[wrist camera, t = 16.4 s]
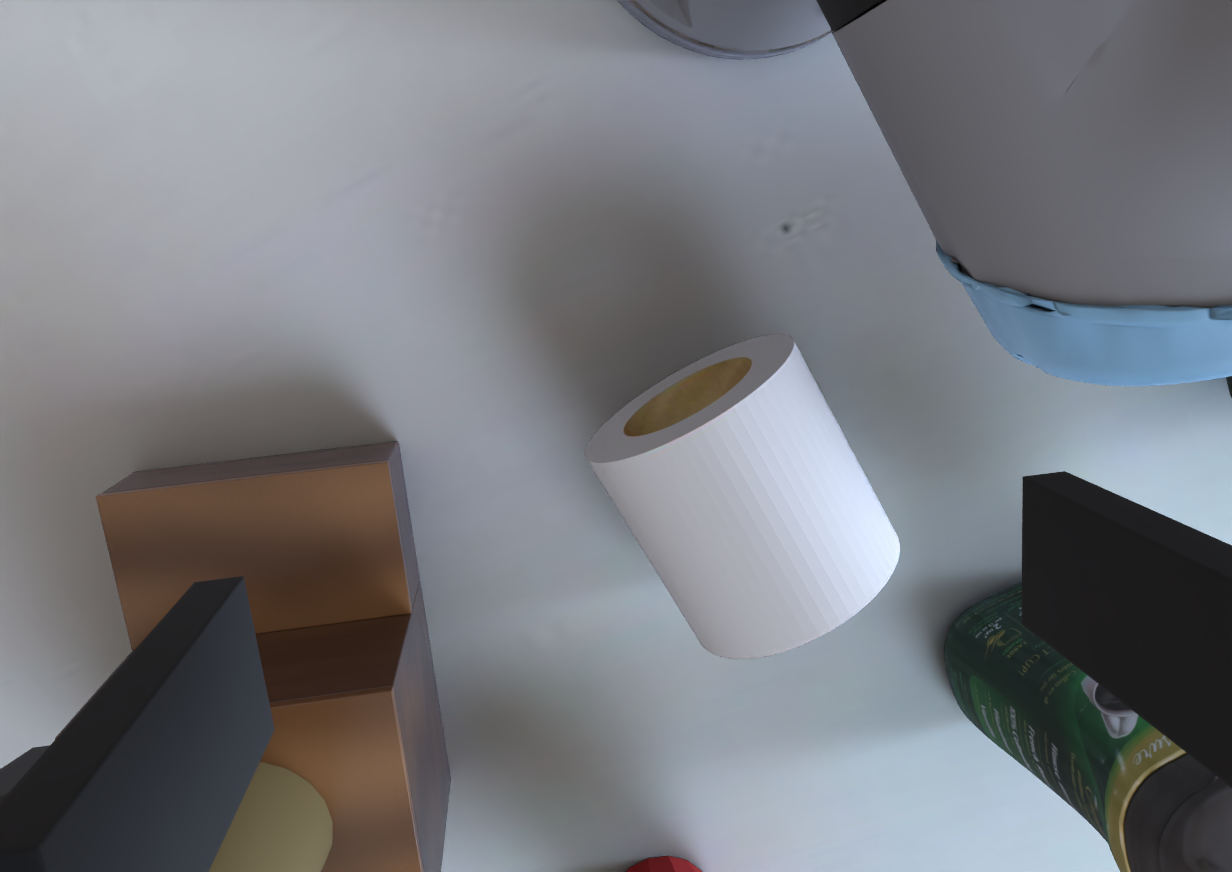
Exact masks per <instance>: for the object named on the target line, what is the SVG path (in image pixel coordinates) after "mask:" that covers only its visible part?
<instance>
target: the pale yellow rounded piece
mask: <svg viewBox="0 0 1232 872" xmlns="http://www.w3.org/2000/svg"><path fill="white" fill-rule="evenodd" d="M332 837H333V821H332V819H331V816H330V813H329V810H328V808H327V805H326V802H325V800H324V799H323V798H322V797H321V796H320V794H319V793H318V792H317V791H316V789H315V788H314V787H313V786H312V785H311V783H309V782H308V781H306V780H305V779H303V778H302V777H300V776H298V775H297V774H295V773H294V772H292V771H291V770H289V769H286V768H282V767H279V766H275V765H272V764H268V763H265V762H259V765H258V767H257V769H256V771H255V773H254V775H253V777H252V780H251V782H250V784H249V786H248V788H247V790H246V792H245V795H244V797H243V799H242V801H241V803H240V805H239V807H238V810H237V812H236V814H235V816H234V818H233V820H232V822H231V825H230V827H229V829H228V831H227V833H226V835H225V838H224V840H223V842H222V844H221V846H220V848H219V850H218V853H217V855H216V857H215V859H214V861H213V863H212V865H211V868H210V870H209V872H321V870H322V868H323V866H324V864H325V861H326V859H327V856H328V854H329V851H330V849H331V846H332Z"/></svg>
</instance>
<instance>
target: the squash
mask: <svg viewBox="0 0 1232 872" xmlns="http://www.w3.org/2000/svg"><path fill="white" fill-rule="evenodd" d="M1226 379H1227V383H1228V387H1229V392H1230V396H1231V397H1232V376H1229V377H1226Z"/></svg>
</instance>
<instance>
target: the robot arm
mask: <svg viewBox="0 0 1232 872" xmlns="http://www.w3.org/2000/svg"><path fill="white" fill-rule="evenodd" d="M618 1H619V2H620V3H621V4H622V5H623V6H624V7H625V8H626V9H627V10H628V11H629V12H630V13H631V14H632V15H633V16H634V17H635V18H636V19H638V20H639V21H640V22H641V23H642V24H644V25H645V26H646V27H648V28H649V29H651V30H652V31H654V32H655V33H656V34H658V35H659V36H661V37H663V38H665V39H667V40H669V41H670V42H672V43H674V44H676V45H679V46H681V47H684V48H686V49H688V50H691V51H694V52H698V53H701V54H705V55H709V56H714V57H719V58H728V59H759V58H766V57H773V56H777V55H781V54H785V53H789V52H792V51H794V50H797V49H800V48H803V47H805V46H807V45H809V44H811V43H813V42H815V41H817V40H819V39H821V38H823V37H824V36H826V35H828V34H829V33H831V32H832V34H833V36H834V38H835V40H836V42H837V44H838V46H839V48H840V50H841V52H842V54H843V56H844V58H845V60H846V62H847V64H848V66H849V68H850V70H851V72H852V74H853V75H854V77H855V79H856V81H857V83H858V85H859V87H860V89H861V91H862V93H863V95H864V97H865V99H866V101H867V103H868V105H869V107H870V109H871V111H872V113H873V115H874V117H875V119H876V121H877V123H878V125H879V127H880V129H881V131H882V133H883V135H884V137H885V139H886V141H887V143H888V145H889V147H890V149H891V151H892V153H893V155H894V157H895V159H896V161H897V163H898V165H899V167H900V169H901V171H902V173H903V175H904V177H905V179H906V181H907V183H908V185H909V187H910V189H911V191H912V193H913V194H914V196H915V198H916V200H917V202H918V204H919V206H920V208H921V210H922V212H923V214H924V216H925V218H926V220H927V222H928V224H929V226H930V228H931V230H932V232H933V234H934V236H935V238H936V251H937V254H938V256H939V258H940V260H941V261H942V263H943V265H944V267H945V268H946V269H947V270H948V271H949V272H950V273H951V275H952V276H953V277H955V278H956V279H957V280H959V281H960V282H961V283H962V284H963V286H964V287H965V289H966V291H967V293H968V294H969V296H970V298H971V300H972V301H973V303H974V305H975V306H976V308H977V310H978V312H979V313H980V315H981V317H982V318H983V320H984V322H985V324H986V325H987V327H988V329H989V330H990V332H991V333H992V335H993V337H994V338H995V339H996V340H997V341H998V343H999V344H1000V345H1001V346H1002V347H1003V348H1004V349H1005V350H1006V351H1008V352H1009V353H1010V354H1011V355H1012V356H1014V357H1015V358H1017V359H1019V360H1021V361H1024V362H1026V363H1029V364H1032V365H1035V366H1036V367H1037V368H1040V369H1042V370H1043V371H1045V372H1046V373H1048V374H1051V375H1053V376H1056V377H1060V378H1064V379H1068V380H1073V381H1079V382H1084V383H1091V384H1099V385H1112V386H1154V385H1169V384H1180V383H1189V382H1198V381H1205V380H1212V379H1218V378H1224V377H1229V376H1232V0H618ZM834 30H835V31H834ZM833 31H834V32H833ZM1022 625H1024V626H1025V627H1026V628H1027V629H1029V630H1030V631H1031V632H1033V633H1034V634H1035V635H1036V636H1038V637H1039V638H1040V639H1042V640H1043V641H1044V642H1045V643H1047V644H1048V645H1049V646H1051V647H1052V648H1053V649H1054V650H1056V651H1057V652H1058V653H1059V654H1061V655H1062V656H1063V657H1065V658H1066V659H1067V660H1068V661H1070V662H1071V663H1072V664H1074V665H1075V666H1076V667H1077V668H1079V669H1080V670H1081V671H1083V672H1084V673H1085V674H1086V675H1088V676H1089V677H1090V678H1092V679H1093V680H1094V681H1095V682H1097V683H1098V684H1099V685H1100V686H1102V687H1103V688H1104V689H1106V690H1107V691H1108V692H1109V693H1111V694H1112V695H1113V696H1115V697H1116V698H1117V699H1118V700H1120V701H1121V702H1122V703H1124V704H1125V705H1126V706H1127V707H1129V708H1130V709H1131V710H1133V711H1134V712H1135V713H1136V714H1138V715H1139V716H1140V717H1141V718H1143V719H1144V720H1145V721H1147V722H1148V723H1149V724H1150V725H1152V726H1153V727H1154V728H1156V729H1157V730H1158V731H1159V732H1161V733H1162V734H1163V735H1165V736H1166V737H1167V738H1168V739H1170V740H1171V741H1172V742H1174V743H1175V744H1176V745H1177V746H1179V747H1180V748H1181V749H1182V750H1184V751H1185V752H1186V753H1188V754H1189V755H1190V756H1191V757H1193V758H1194V759H1195V760H1197V761H1198V762H1199V763H1200V764H1202V765H1203V766H1204V767H1206V768H1207V769H1208V770H1209V771H1211V772H1212V773H1213V774H1215V775H1216V776H1217V777H1218V778H1220V779H1221V780H1222V781H1223V782H1225V783H1226V784H1227V785H1229V786H1230V787H1231V788H1232V546H1231V545H1229V544H1227V543H1225V542H1222V541H1220V540H1218V539H1216V538H1213V537H1211V536H1209V535H1207V534H1204V533H1202V532H1200V531H1198V530H1195V529H1193V528H1191V527H1189V526H1186V525H1184V524H1182V523H1180V522H1177V521H1175V520H1173V519H1171V518H1168V517H1166V516H1164V515H1162V514H1159V513H1157V512H1155V511H1153V510H1150V509H1148V508H1146V507H1144V506H1141V505H1139V504H1137V503H1135V502H1132V501H1130V500H1128V499H1126V498H1123V497H1121V496H1119V495H1117V494H1114V493H1112V492H1110V491H1108V490H1105V489H1103V488H1101V487H1099V486H1097V485H1094V484H1092V483H1090V482H1088V481H1085V480H1083V479H1081V478H1079V477H1076V476H1074V475H1072V474H1070V473H1067V472H1065V471H1064V472H1056V473H1048V474H1040V475H1033V476H1025V477H1023V509H1022ZM274 730H275V729H274V724H273V719H272V714H271V709H270V704H269V699H268V694H267V689H266V684H265V679H264V674H263V669H262V664H261V659H260V654H259V649H258V644H257V639H256V634H255V630H254V625H253V620H252V615H251V610H250V605H249V600H248V595H247V590H246V585H245V580H244V576H240V577H232V578H224V579H216V580H208V581H201V582H194V583H193V585H192V586H191V587H190V588H189V589H188V590H187V591H186V593H185V594H184V595H183V596H182V597H181V598H180V599H179V600H178V602H177V603H176V604H175V605H174V606H173V607H172V608H171V609H170V611H169V612H168V613H167V614H166V615H165V616H164V617H163V619H162V620H161V621H160V622H159V623H158V624H157V625H156V626H155V628H154V629H153V630H152V631H151V632H150V633H149V634H148V636H147V637H146V638H145V639H144V640H143V641H142V642H141V643H140V645H139V646H138V647H137V648H136V649H135V650H134V651H133V652H132V654H131V655H130V656H129V657H128V658H127V659H126V660H125V662H124V663H123V664H122V665H121V666H120V667H119V668H118V669H117V671H116V672H115V673H114V674H113V675H112V676H111V677H110V679H109V680H108V681H107V682H106V683H105V684H104V685H103V686H102V688H101V689H100V690H99V691H98V692H97V693H96V694H95V696H94V697H93V698H92V699H91V700H90V701H89V702H88V703H87V705H86V706H85V707H84V708H83V709H82V710H81V711H80V712H79V714H78V715H77V716H76V717H75V718H74V719H73V720H72V722H71V723H70V724H69V725H68V726H67V727H66V728H65V729H64V731H63V732H62V733H61V734H60V735H59V736H58V737H57V739H56V740H55V741H54V742H53V743H52V744H51V745H50V746H42V747H35V748H32V749H30V750H29V751H27V752H26V753H24V754H23V755H21V756H20V757H18V758H17V759H15V760H14V761H12V762H11V763H9V764H8V765H6V766H5V767H3V768H2V769H0V872H209V870H210V868H211V865H212V863H213V861H214V859H215V857H216V855H217V853H218V850H219V848H220V846H221V844H222V842H223V840H224V838H225V835H226V833H227V831H228V829H229V827H230V825H231V822H232V820H233V818H234V816H235V814H236V812H237V810H238V807H239V805H240V803H241V801H242V799H243V797H244V795H245V792H246V790H247V788H248V786H249V784H250V782H251V780H252V777H253V775H254V773H255V771H256V769H257V767H258V765H259V762H260V760H261V758H262V756H263V754H264V752H265V750H266V747H267V745H268V743H269V741H270V739H271V737H272V735H273V732H274Z"/></svg>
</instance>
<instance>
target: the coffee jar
mask: <svg viewBox="0 0 1232 872" xmlns="http://www.w3.org/2000/svg"><path fill="white" fill-rule="evenodd" d="M944 659H945V665H946V671H947V674H948V678H949V682H950V685H951V688H952V691H953V694H954V696H955V698H956V701H957V703H958V705H959V706H960V708H961V710H962V711H963V713H964V714H965V715H966V716H967V718H968V719H969V720H970V721H971V722H972V723H973V724H974V725H975V726H976V727H977V728H978V729H979V730H981V731H982V732H983V733H984V734H985V735H986V736H987V737H988V738H989V739H991V740H992V741H993V742H994V743H995V744H997V745H998V746H999V747H1000V748H1001V749H1003V750H1004V751H1005V752H1007V753H1008V754H1009V755H1010V756H1012V757H1013V758H1014V759H1015V760H1017V761H1018V762H1019V763H1020V764H1022V765H1023V766H1024V767H1025V768H1027V769H1028V770H1029V771H1030V772H1031V773H1033V774H1034V775H1035V776H1036V777H1037V778H1039V779H1040V780H1041V781H1042V782H1043V783H1045V784H1046V785H1047V786H1048V787H1049V788H1051V789H1052V790H1053V791H1054V792H1055V793H1056V794H1058V795H1059V796H1060V797H1061V798H1062V799H1063V800H1064V801H1066V802H1067V803H1068V804H1069V805H1070V806H1071V807H1073V808H1074V809H1075V810H1076V811H1077V812H1078V813H1079V814H1080V815H1082V816H1083V817H1084V818H1085V819H1086V820H1087V821H1088V822H1089V823H1090V824H1091V825H1092V826H1093V827H1094V828H1095V829H1096V830H1097V831H1098V832H1099V833H1100V834H1101V836H1102V837H1103V838H1104V839H1105V840H1106V841H1107V842H1108V844H1109V847H1110V850H1111V852H1112V854H1113V857H1114V859H1115V861H1116V863H1117V865H1118V867H1119V869H1120V872H1232V788H1231V787H1230V786H1229V785H1227V784H1226V783H1225V782H1223V781H1222V780H1221V779H1220V778H1218V777H1217V776H1216V775H1215V774H1213V773H1212V772H1211V771H1209V770H1208V769H1207V768H1206V767H1204V766H1203V765H1202V764H1200V763H1199V762H1198V761H1197V760H1195V759H1194V758H1193V757H1191V756H1190V755H1189V754H1188V753H1186V752H1185V751H1184V750H1182V749H1181V748H1180V747H1179V746H1177V745H1176V744H1175V743H1174V742H1172V741H1171V740H1170V739H1168V738H1167V737H1166V736H1165V735H1163V734H1162V733H1161V732H1159V731H1158V730H1157V729H1156V728H1154V727H1153V726H1152V725H1150V724H1149V723H1148V722H1147V721H1145V720H1144V719H1143V718H1141V717H1140V716H1139V715H1138V714H1136V713H1135V712H1134V711H1133V710H1131V709H1130V708H1129V707H1127V706H1126V705H1125V704H1124V703H1122V702H1121V701H1120V700H1118V699H1117V698H1116V697H1115V696H1113V695H1112V694H1111V693H1109V692H1108V691H1107V690H1106V689H1104V688H1103V687H1102V686H1100V685H1099V684H1098V683H1097V682H1095V681H1094V680H1093V679H1092V678H1090V677H1089V676H1088V675H1086V674H1085V673H1084V672H1083V671H1081V670H1080V669H1079V668H1077V667H1076V666H1075V665H1074V664H1072V663H1071V662H1070V661H1068V660H1067V659H1066V658H1065V657H1063V656H1062V655H1061V654H1059V653H1058V652H1057V651H1056V650H1054V649H1053V648H1052V647H1051V646H1049V645H1048V644H1047V643H1045V642H1044V641H1043V640H1042V639H1040V638H1039V637H1038V636H1036V635H1035V634H1034V633H1033V632H1031V631H1030V630H1029V629H1027V628H1026V627H1025V626H1024V625H1022V583H1020V584H1017V585H1015V586H1013V587H1010V588H1008V589H1006V590H1003V591H1001V592H999V593H997V594H995V595H993V596H991V597H989V598H987V599H985V600H983V601H981V602H979V603H977V604H976V605H974V606H972V607H971V608H969V609H967V610H966V611H965V612H963V613H962V614H961V615H960V616H959V617H958V618H957V619H956V620H955V622H954V623H953V624H952V626H951V628H950V631H949V633H948V635H947V638H946V641H945V647H944Z"/></svg>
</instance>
